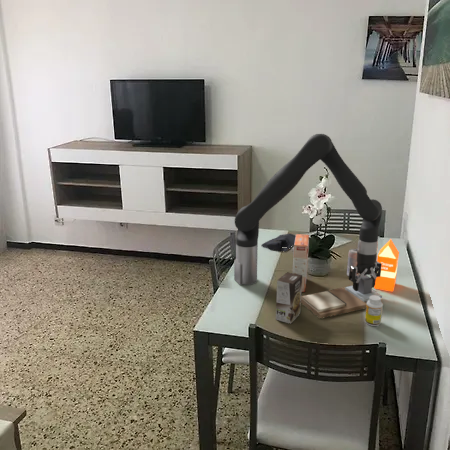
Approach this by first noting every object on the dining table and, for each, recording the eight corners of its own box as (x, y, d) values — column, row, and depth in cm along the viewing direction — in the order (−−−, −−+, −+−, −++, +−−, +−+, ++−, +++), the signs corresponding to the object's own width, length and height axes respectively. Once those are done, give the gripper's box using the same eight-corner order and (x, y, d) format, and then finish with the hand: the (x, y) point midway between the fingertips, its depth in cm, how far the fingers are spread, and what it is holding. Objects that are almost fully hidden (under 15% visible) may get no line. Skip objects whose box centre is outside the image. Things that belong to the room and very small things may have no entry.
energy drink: (359, 274, 213) (361, 249, 210) (358, 278, 209) (360, 253, 205) (347, 272, 215) (349, 247, 211) (346, 277, 210) (348, 252, 206)
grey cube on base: (363, 301, 184) (365, 285, 182) (345, 289, 195) (346, 273, 193) (381, 297, 187) (383, 281, 185) (362, 285, 198) (363, 270, 196)
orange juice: (395, 283, 204) (400, 239, 198) (393, 291, 196) (398, 246, 190) (376, 280, 207) (381, 237, 201) (373, 288, 199) (378, 243, 193)
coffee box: (291, 324, 172) (292, 284, 167) (275, 319, 175) (276, 280, 170) (301, 313, 179) (303, 274, 174) (285, 309, 182) (287, 271, 177)
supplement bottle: (368, 317, 176) (371, 292, 173) (383, 322, 173) (385, 297, 170) (362, 323, 172) (364, 298, 169) (376, 328, 169) (379, 302, 165)
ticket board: (320, 318, 175) (320, 312, 175) (297, 300, 189) (298, 294, 189) (368, 307, 183) (368, 301, 183) (343, 290, 197) (343, 284, 197)
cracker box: (305, 292, 196) (308, 245, 189) (291, 291, 197) (293, 244, 190) (307, 278, 209) (309, 234, 202) (293, 277, 210) (295, 233, 203)
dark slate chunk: (304, 241, 255) (304, 233, 254) (284, 254, 238) (284, 245, 237) (279, 236, 264) (279, 228, 262) (258, 247, 247) (258, 239, 245)
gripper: (375, 244, 191) (372, 281, 196) (346, 249, 186) (343, 287, 191) (388, 251, 185) (384, 289, 190) (358, 256, 179) (354, 295, 185)
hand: (363, 288), depth 190 cm, fingers open, 7 cm apart
